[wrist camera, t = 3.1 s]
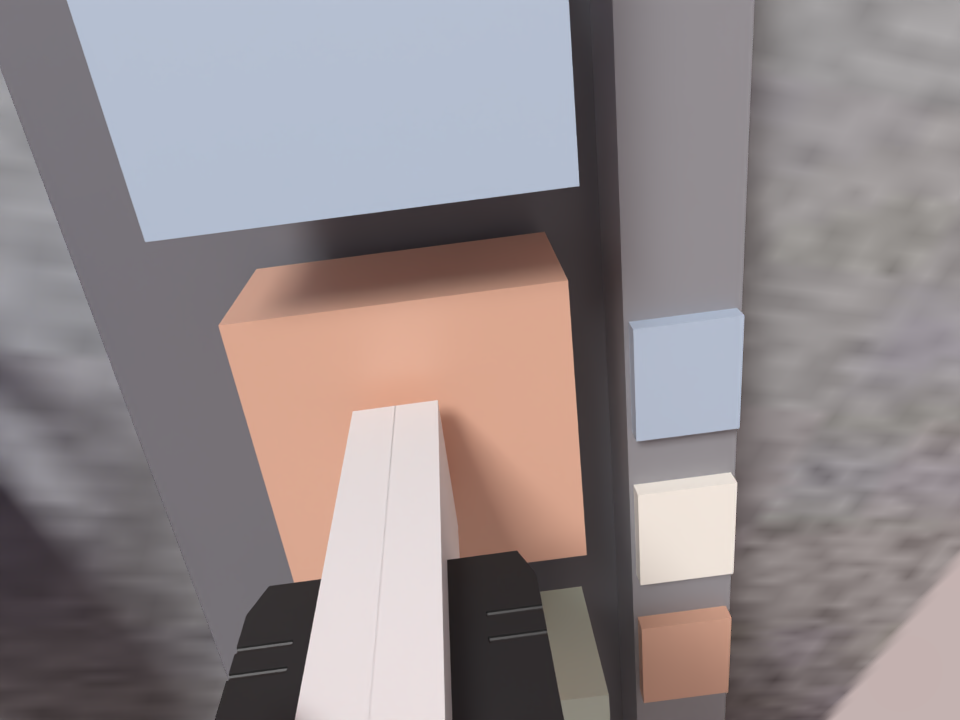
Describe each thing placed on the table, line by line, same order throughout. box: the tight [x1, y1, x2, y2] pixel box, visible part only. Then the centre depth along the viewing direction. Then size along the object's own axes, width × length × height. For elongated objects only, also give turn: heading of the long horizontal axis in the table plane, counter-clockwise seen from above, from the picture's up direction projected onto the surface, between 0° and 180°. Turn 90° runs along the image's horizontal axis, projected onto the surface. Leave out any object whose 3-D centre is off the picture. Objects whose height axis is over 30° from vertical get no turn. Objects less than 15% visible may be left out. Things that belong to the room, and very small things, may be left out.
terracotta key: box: [218, 232, 587, 583], centre depth 15 cm, size 6×6×3 cm
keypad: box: [0, 0, 755, 720], centre depth 19 cm, size 14×32×4 cm, turn 7°
